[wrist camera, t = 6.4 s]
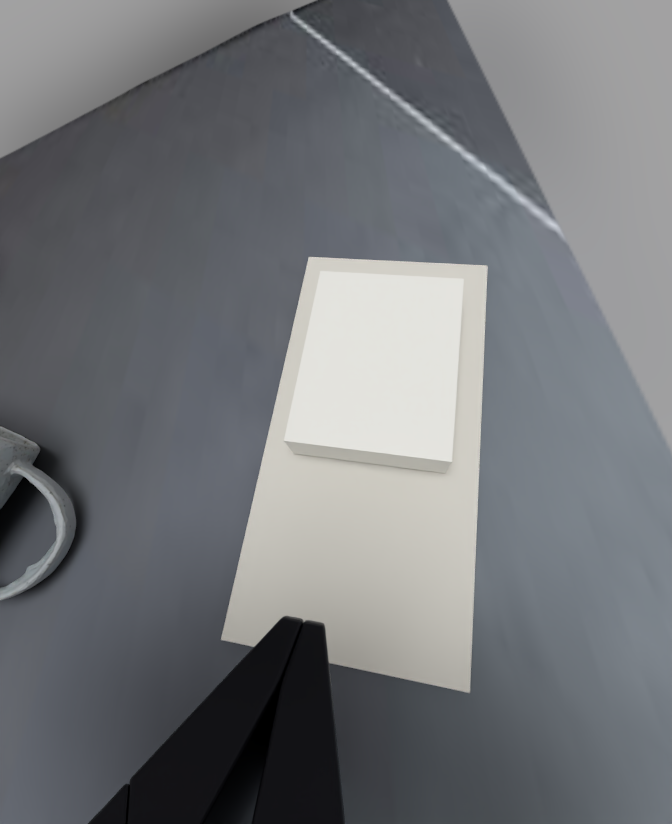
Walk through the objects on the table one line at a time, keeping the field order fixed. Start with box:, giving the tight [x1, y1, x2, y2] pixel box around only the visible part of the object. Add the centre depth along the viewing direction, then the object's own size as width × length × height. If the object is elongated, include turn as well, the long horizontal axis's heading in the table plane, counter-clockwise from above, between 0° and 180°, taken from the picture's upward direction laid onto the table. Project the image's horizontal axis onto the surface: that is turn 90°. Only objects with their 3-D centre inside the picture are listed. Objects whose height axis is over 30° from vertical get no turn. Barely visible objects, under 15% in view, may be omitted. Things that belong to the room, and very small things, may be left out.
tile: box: [284, 271, 464, 473], centre depth 20 cm, size 2×7×9 cm
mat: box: [221, 257, 487, 693], centre depth 20 cm, size 20×10×1 cm, turn 171°
